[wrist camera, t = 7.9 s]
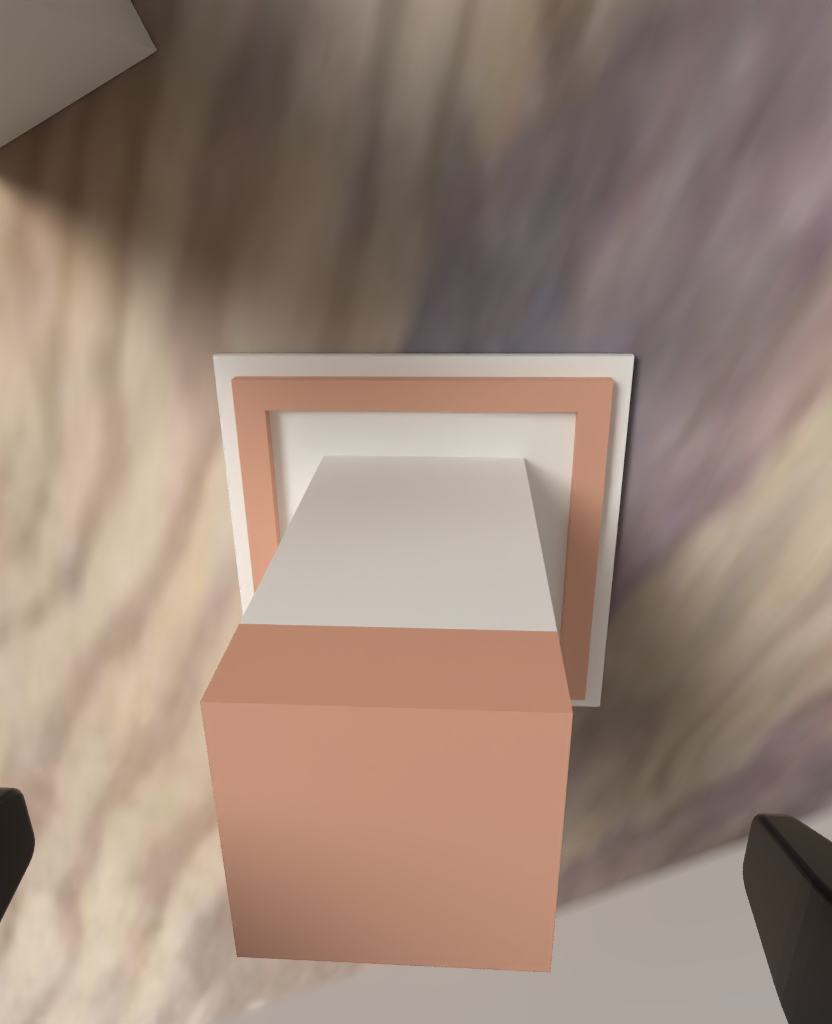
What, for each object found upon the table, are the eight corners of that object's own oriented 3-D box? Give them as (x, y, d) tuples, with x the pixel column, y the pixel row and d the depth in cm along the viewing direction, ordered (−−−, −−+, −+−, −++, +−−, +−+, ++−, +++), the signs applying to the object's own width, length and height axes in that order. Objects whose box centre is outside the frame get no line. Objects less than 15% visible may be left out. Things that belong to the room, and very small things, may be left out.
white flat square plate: (632, 353, 15) (637, 359, 14) (598, 701, 18) (601, 715, 18) (215, 352, 15) (208, 359, 15) (254, 692, 19) (249, 705, 18)
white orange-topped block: (523, 457, 16) (572, 713, 8) (515, 630, 17) (550, 972, 10) (324, 454, 16) (199, 702, 9) (333, 625, 17) (237, 957, 10)
